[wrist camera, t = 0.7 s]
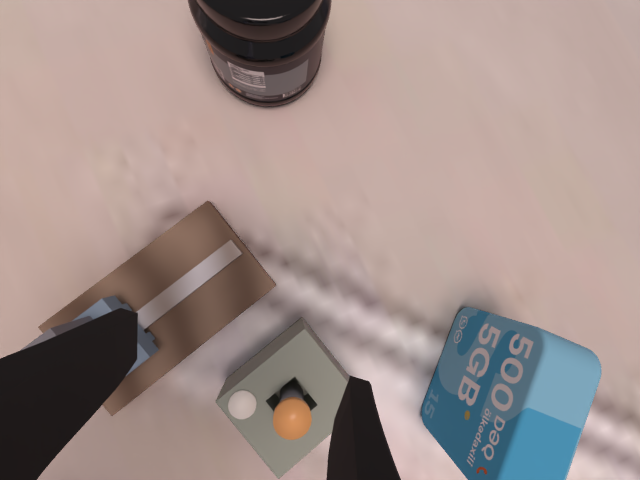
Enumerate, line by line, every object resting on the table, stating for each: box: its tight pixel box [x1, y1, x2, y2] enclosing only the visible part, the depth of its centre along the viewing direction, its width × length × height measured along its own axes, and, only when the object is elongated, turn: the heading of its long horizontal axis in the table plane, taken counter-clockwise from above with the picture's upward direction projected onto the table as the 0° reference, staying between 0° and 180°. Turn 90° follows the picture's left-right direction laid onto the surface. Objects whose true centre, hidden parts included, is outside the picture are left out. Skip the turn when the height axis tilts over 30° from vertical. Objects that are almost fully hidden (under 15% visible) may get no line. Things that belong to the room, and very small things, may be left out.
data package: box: [422, 307, 601, 480], centre depth 28 cm, size 12×4×12 cm, turn 157°
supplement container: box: [188, 0, 331, 106], centre depth 27 cm, size 10×10×12 cm
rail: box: [38, 201, 276, 416], centre depth 30 cm, size 18×10×2 cm, turn 128°
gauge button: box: [273, 382, 312, 440], centre depth 27 cm, size 3×3×5 cm
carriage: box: [20, 295, 159, 376], centre depth 26 cm, size 6×6×7 cm
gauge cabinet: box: [216, 317, 350, 479], centre depth 30 cm, size 9×8×5 cm
